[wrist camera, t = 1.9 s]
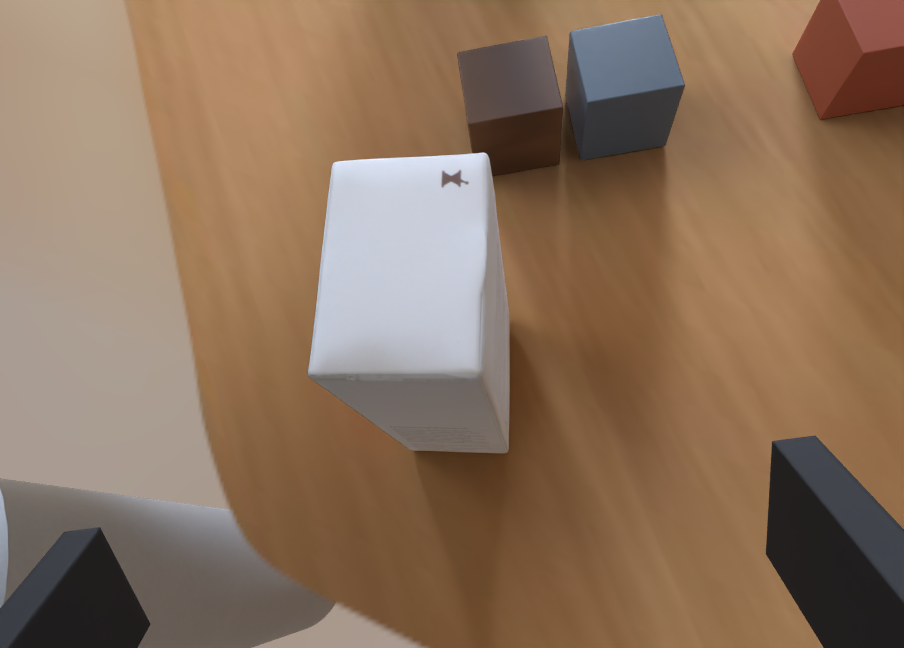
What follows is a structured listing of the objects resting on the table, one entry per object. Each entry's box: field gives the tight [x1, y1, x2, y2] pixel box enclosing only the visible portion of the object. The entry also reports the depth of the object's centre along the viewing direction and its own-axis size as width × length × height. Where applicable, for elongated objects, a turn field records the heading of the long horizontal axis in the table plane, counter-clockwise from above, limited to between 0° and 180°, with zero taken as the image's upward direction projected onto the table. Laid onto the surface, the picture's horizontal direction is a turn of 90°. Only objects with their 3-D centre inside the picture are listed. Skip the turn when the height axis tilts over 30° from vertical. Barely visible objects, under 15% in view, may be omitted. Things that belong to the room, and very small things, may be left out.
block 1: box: [457, 36, 563, 176], centre depth 28 cm, size 4×4×4 cm
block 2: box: [565, 14, 685, 160], centre depth 27 cm, size 4×4×4 cm
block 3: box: [792, 0, 904, 119], centre depth 26 cm, size 4×4×4 cm
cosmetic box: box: [308, 153, 510, 453], centre depth 20 cm, size 6×4×12 cm
